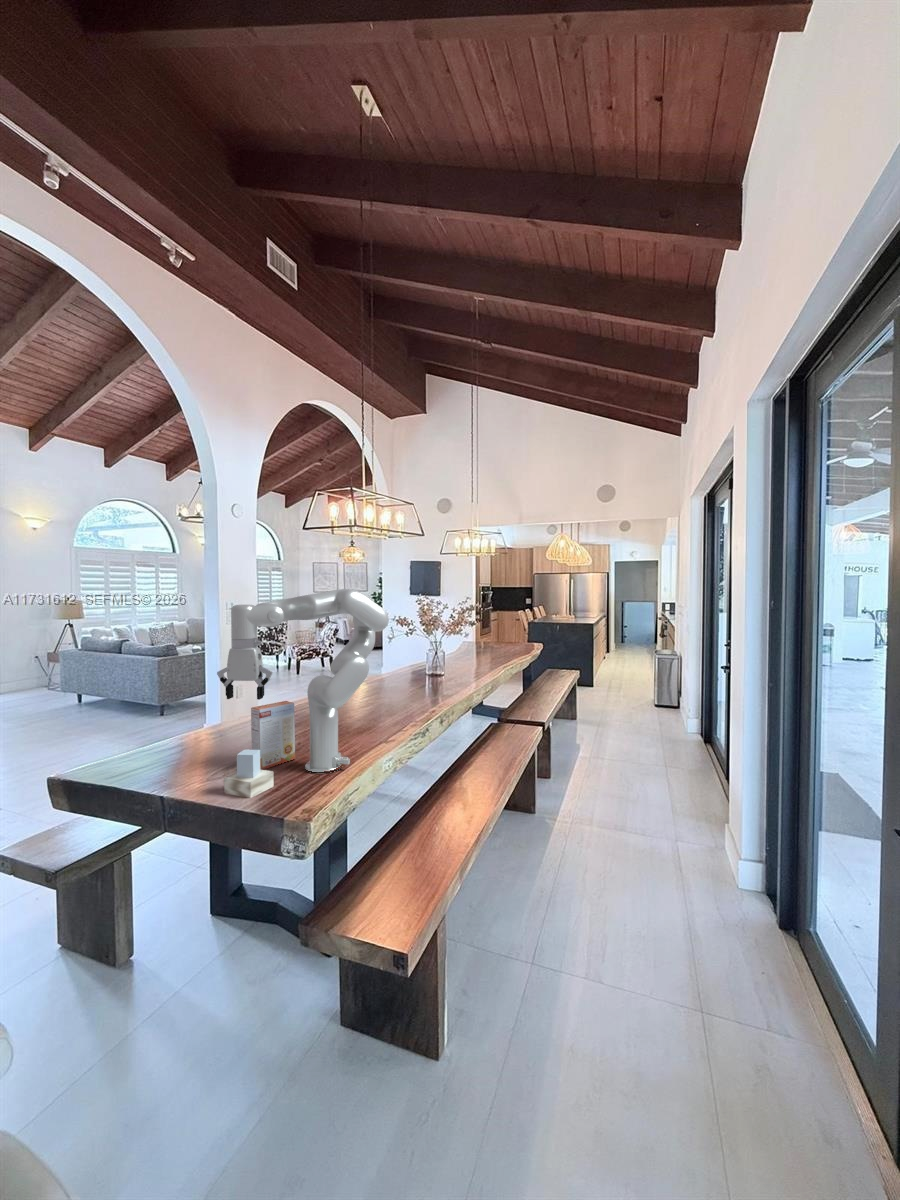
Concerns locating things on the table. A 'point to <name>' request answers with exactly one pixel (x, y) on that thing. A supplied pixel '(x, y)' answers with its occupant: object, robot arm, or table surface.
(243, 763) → the blue-grey block
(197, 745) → the table surface
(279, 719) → the cracker box
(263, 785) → the ash base block
